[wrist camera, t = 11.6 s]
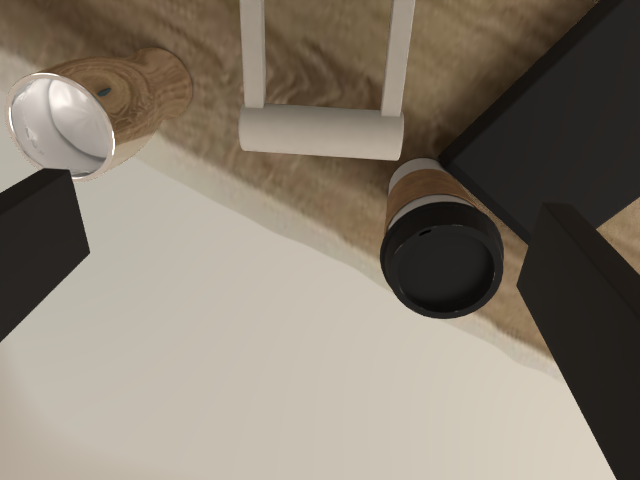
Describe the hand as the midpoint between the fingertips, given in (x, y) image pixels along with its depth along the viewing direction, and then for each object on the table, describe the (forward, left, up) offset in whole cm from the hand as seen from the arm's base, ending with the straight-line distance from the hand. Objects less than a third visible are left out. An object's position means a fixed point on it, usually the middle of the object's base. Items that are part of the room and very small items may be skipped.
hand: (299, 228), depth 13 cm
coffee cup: (+10, +8, -29) cm, 32 cm away
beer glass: (+2, -16, -29) cm, 33 cm away
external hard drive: (+2, +22, -29) cm, 36 cm away
